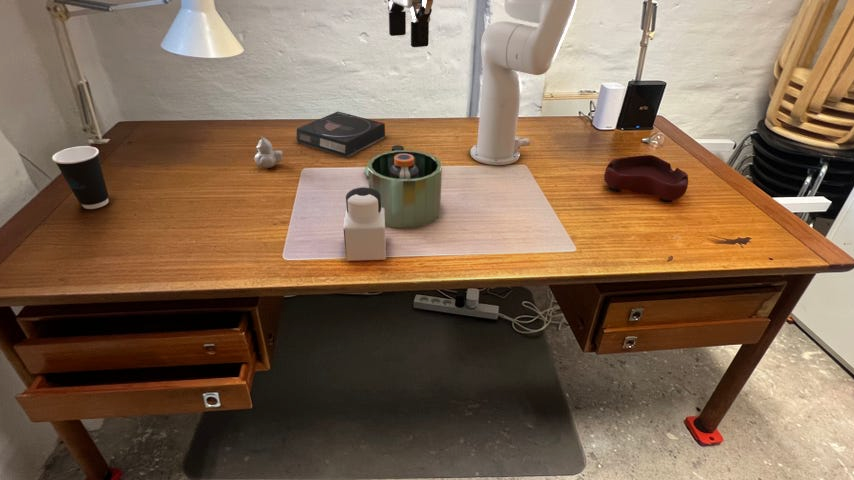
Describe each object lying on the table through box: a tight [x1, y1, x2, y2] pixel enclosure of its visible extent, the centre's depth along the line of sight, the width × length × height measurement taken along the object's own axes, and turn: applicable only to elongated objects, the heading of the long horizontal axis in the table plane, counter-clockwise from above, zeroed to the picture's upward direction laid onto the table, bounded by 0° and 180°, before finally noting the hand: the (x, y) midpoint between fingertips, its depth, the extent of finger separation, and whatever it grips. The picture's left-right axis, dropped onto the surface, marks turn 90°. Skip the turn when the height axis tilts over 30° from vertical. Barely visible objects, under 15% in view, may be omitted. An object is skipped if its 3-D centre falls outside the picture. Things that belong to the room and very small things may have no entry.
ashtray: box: [603, 154, 689, 204], centre depth 118 cm, size 18×16×5 cm
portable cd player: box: [295, 111, 386, 158], centre depth 136 cm, size 16×17×4 cm
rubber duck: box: [254, 134, 284, 169], centre depth 121 cm, size 5×7×8 cm
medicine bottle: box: [343, 186, 387, 262], centre depth 91 cm, size 7×7×12 cm
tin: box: [367, 149, 443, 230], centre depth 104 cm, size 15×15×10 cm
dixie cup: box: [51, 145, 110, 210], centre depth 103 cm, size 8×8×11 cm
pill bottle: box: [390, 154, 419, 179], centre depth 104 cm, size 6×6×11 cm
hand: (408, 40), depth 93 cm, fingers open, 9 cm apart
